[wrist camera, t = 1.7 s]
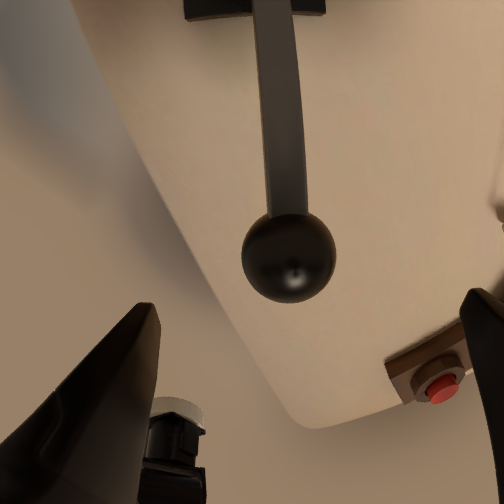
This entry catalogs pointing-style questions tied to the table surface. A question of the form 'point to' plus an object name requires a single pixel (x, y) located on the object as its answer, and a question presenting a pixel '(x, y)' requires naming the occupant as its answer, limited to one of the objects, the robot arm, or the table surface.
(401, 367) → the button block
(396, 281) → the table surface
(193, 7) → the bracket
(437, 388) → the button
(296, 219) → the lever
